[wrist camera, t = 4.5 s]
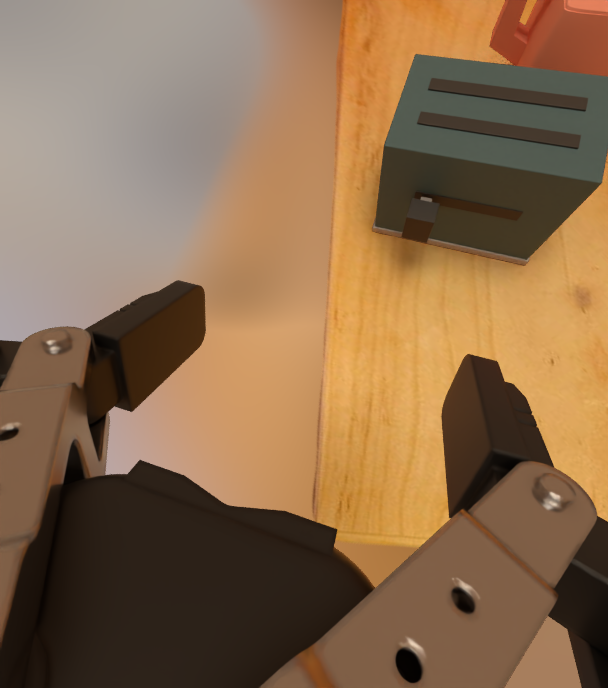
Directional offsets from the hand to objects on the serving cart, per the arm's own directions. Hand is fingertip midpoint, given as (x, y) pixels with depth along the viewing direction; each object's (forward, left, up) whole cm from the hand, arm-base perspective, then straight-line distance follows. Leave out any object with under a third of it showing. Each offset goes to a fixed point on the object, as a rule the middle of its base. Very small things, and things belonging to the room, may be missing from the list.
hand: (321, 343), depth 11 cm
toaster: (+23, +12, -26) cm, 37 cm away
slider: (+15, +10, -20) cm, 27 cm away
